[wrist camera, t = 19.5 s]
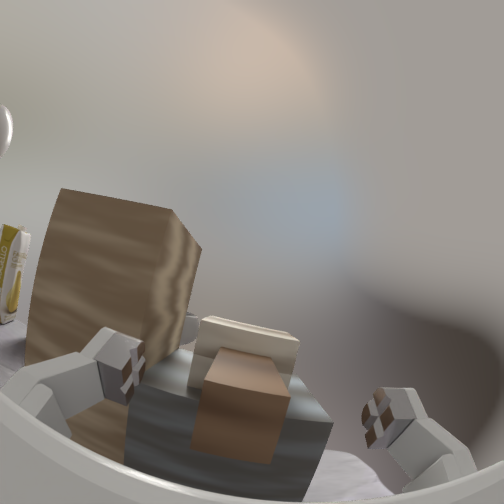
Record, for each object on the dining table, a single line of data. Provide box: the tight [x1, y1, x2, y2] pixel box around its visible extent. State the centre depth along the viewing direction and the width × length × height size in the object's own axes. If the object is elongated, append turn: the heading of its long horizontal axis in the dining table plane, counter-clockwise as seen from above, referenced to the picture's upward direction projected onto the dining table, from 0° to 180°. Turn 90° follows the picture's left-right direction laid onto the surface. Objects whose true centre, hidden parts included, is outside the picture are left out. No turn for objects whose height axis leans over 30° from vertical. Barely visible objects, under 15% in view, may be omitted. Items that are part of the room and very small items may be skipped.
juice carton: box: [0, 224, 31, 324], centre depth 47 cm, size 9×8×24 cm
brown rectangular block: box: [187, 316, 300, 464], centre depth 17 cm, size 14×7×5 cm, turn 2°
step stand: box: [25, 188, 334, 502], centre depth 22 cm, size 14×24×26 cm, turn 92°
